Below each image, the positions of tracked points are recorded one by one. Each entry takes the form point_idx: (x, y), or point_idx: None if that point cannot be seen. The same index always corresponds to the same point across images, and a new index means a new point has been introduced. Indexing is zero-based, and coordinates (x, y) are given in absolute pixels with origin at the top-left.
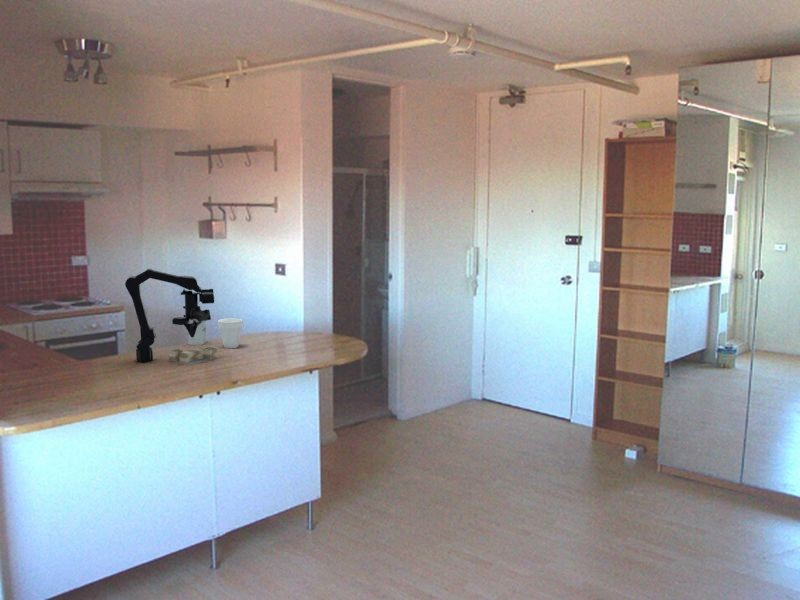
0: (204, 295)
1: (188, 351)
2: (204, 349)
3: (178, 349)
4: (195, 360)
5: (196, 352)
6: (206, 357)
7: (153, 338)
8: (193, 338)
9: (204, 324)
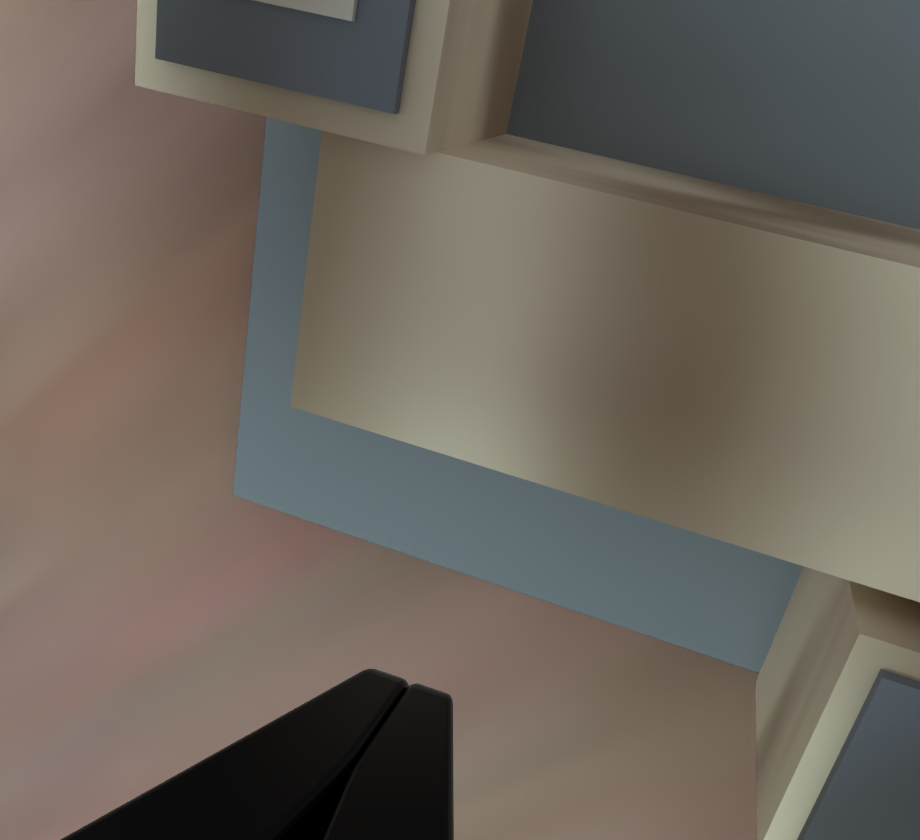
0: None
1: (810, 465)
2: (438, 88)
3: (829, 788)
4: (803, 177)
5: (727, 215)
6: (520, 10)
7: None
8: None
9: None
